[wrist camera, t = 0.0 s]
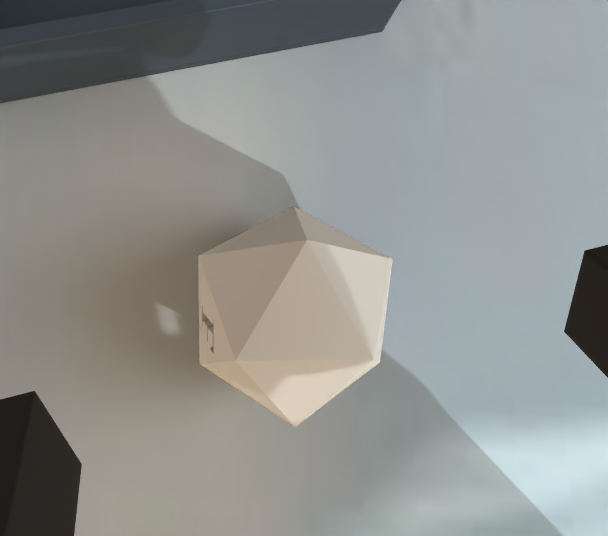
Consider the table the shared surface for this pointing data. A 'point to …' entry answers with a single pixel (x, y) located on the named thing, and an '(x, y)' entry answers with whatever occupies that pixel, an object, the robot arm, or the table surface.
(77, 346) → the table surface
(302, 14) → the tote
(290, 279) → the die
